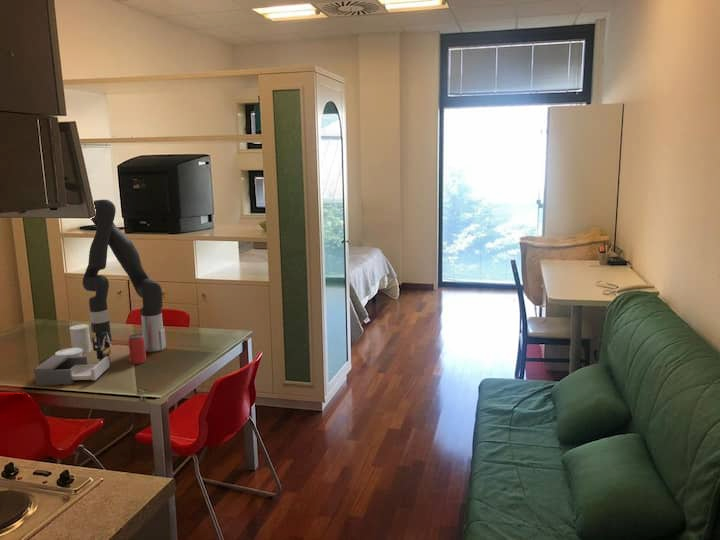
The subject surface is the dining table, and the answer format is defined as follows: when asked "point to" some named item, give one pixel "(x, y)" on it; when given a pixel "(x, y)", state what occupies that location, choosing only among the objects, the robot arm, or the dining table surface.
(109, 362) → the cylinder
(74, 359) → the housing
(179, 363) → the dining table surface
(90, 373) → the tray
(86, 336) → the cup
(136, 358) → the beer can
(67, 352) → the ramekin
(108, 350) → the disc
